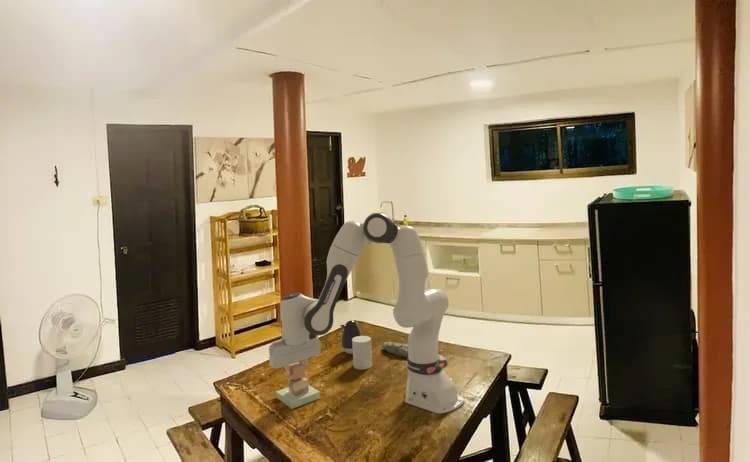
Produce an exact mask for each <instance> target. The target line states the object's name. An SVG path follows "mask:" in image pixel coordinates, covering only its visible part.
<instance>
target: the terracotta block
mask: <svg viewBox="0 0 750 462" xmlns="http://www.w3.org/2000/svg"><path fill="white" fill-rule="evenodd" d="M288 368H289V369H291V370H292V375H289V376H288V377H289V379H290V378H292V379H294V380H296V379H299V378H302V377H305V378H306V372H305V371H306V370H305V368H304V364H303V362H302V363H301V362H300V361H298V362H295V363H291V364H289V367H288Z"/></svg>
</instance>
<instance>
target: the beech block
mask: <svg viewBox="0 0 750 462" xmlns="http://www.w3.org/2000/svg"><path fill="white" fill-rule="evenodd" d="M308 385H309V379H308V378H307V377H306V376H305V377H302V378H299V379H296V380H294V379H292V378H290V377H289V378H287V387H288V389H289V392H290V393H291V394H293V395H294V396H296V397H297V396H299V395H302V394H305V393H308V392H309V386H308Z"/></svg>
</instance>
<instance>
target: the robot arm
mask: <svg viewBox="0 0 750 462" xmlns="http://www.w3.org/2000/svg"><path fill="white" fill-rule="evenodd" d="M367 243H375V244H388V245H389V246H390V248H391V250H392V254H393V259H394V263H395V267H396V272H397V276H398V294H397V295H398V296H397V300H396V303H395V304H394V306H393V310H392V315H393V318H394V320H395V322H396V324H397V325H398V326H399V327H402V328H405V329H407V328H412V329H411V331H410V333H409V335H408V337H407V344H408V358H407V359H406V360H407V362H406V365H407V366H406V367H407V369H408V372H407V379H406V389H405V393H404V395H405V398H404V402H405V403H406V404H409V405H412V406H415V407H417V408H420V409H423V410H426V411H429V412H432V413H435V414H439V415H440V414H445V413H449V412H451V411H452V412H453V411H454V410H456V409H458V408H460V407H461V406H463V404H464V403H465V398H464V397H463V396H461V395H460V394H458V390H457V385H456V384H455V382H454V381H453V378H451V377H449V376H448V374H447V373H446V372H445V371H444V369H443V367H445V365H443V364H444V363H442V364H441V362H440V359H439V357H438V354H439V335H440V331H441V330H440V329H441V325H442V322H443V318H444V316H445V313H446V312H447V310H448V308H449V303H450V302H449V298H448V295H447V294H446V292H445V291H443V290H442V289H440V288H427V289H425V288H426V287H425V286H426V281H427V278H428V276H429V269H428V264H427V260H426V256H425V252H424V251H425V250H424V247H423V244H422V241H421V238H420V237H419V233H418V232H417V230H416V228H414V227H413V226H410V225H403V226H402V225H399V226H398V225H397V224H396V223H395V222H394V221H393V219H392V218H391V217H390V216H389V215H388V214H385V213H382V212H375V213H374V212H373V213H371V214H370V215H368V216H367V217H366V218H365V219H364V222H363V223H362V222H359V221H358V222H357V221H354V220H348V221H346V222H344V224H342V226H341V228H340V229H339V231H338V232H337V234H336V235H335V237H334V239H333V241H332V243H331V246H330V247H329V250H328V254H327V257H326V271H327V273H326V274H327V275H326V280H325V283H324V286H323V289H322V291H321V292H320V296H319V298H312V297H309V296H306V295H304V294H302V293H301V292H291V293H289V294H286V295H285V296H283V298H281V301H280V305H279V306H280V308H279V310H280V320H281V324H282V325H281V326H282V327H281V340H278V341H274V342H272V343H271V344H270V345H269V346H268V354H269V356H268V357H269V358H268V360H269V361H268V364H269V366H270V367H271V368H273V369H279V368H281V367H283V368H284V369H285V371H286V375H287V376H288V377H289V375H292V370H291V369H289V368H288V367H289V364H292V363H295V362H300V361H302V364H304V368H305V371H306V370H307V365H308V362H309V359H310V358H314V357H316V356H319V355H320V354H321V351H322V350H321V349H322V348H321V347H322V346H321V341H320V339H319V338H318V337H319V336H323V335H326V334H327V333H329V332H330V331H331V330H332V327H333V325H334V311H335V307H336V306H337V302H338V300H339V298H340V295H341V293H342V291H343V288H344V286H345V283H346V281H347V279H348V278H349V275H350V274H351V272H352V271H353V269H354V267H355V265H356V264H357V262H358V260H359V257H360V256H361V252H362V250H363V249H364V248H365V245H366V244H367ZM442 365H443V366H442Z"/></svg>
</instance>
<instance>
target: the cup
mask: <svg viewBox="0 0 750 462" xmlns="http://www.w3.org/2000/svg"><path fill="white" fill-rule="evenodd" d="M352 347H353V354H352V363H353V368H354V369H356V370H367V369H370V368H371V367H373V355H372V338H371V337H370V336H369V335H362V336H357V337H354V338H353V339H352Z"/></svg>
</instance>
